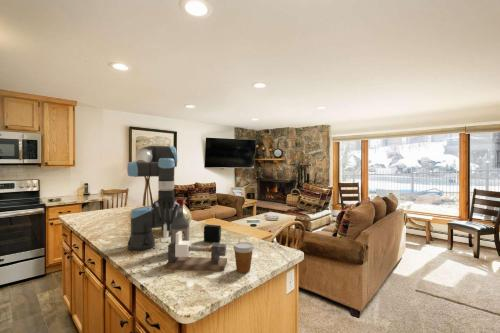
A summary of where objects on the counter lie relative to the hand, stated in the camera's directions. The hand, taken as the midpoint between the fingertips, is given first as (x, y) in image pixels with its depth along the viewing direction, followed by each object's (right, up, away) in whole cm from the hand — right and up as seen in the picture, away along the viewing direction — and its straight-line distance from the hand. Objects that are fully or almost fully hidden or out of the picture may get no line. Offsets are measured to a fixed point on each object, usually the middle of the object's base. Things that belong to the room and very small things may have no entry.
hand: (166, 237), depth 122 cm
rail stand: (+16, -14, 0) cm, 21 cm away
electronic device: (+17, -13, +37) cm, 42 cm away
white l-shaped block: (+9, -9, 0) cm, 12 cm away
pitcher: (-14, -13, +59) cm, 62 cm away
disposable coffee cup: (+38, -14, -5) cm, 41 cm away
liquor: (+2, -13, +16) cm, 21 cm away
